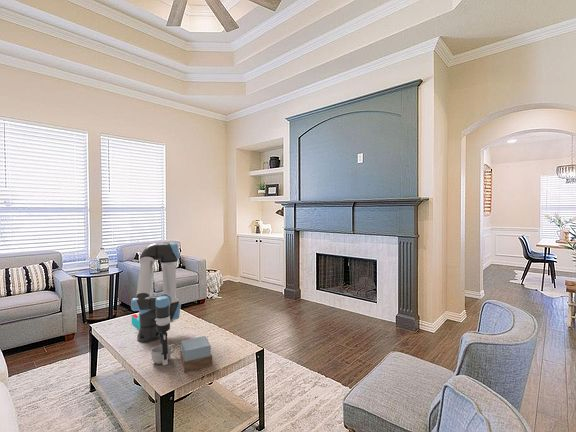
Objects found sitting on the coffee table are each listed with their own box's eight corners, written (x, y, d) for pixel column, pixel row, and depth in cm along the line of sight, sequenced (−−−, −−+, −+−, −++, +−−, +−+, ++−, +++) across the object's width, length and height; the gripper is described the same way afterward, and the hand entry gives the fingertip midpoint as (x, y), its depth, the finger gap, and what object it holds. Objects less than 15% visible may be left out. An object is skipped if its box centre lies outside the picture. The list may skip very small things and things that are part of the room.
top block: (181, 350, 177) (181, 340, 177) (205, 345, 183) (205, 335, 183) (184, 361, 164) (184, 351, 164) (210, 355, 171) (210, 345, 170)
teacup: (153, 368, 169) (153, 354, 169) (149, 360, 178) (149, 346, 177) (179, 360, 177) (178, 347, 177) (173, 353, 186) (173, 340, 186)
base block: (180, 360, 177) (180, 350, 177) (206, 354, 184) (206, 344, 184) (184, 373, 164) (184, 362, 164) (212, 366, 171) (212, 355, 171)
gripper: (154, 317, 186) (155, 351, 187) (157, 332, 164) (159, 371, 165) (167, 315, 189) (168, 349, 190) (172, 329, 167) (173, 367, 168)
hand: (164, 359), depth 177 cm, fingers open, 12 cm apart
